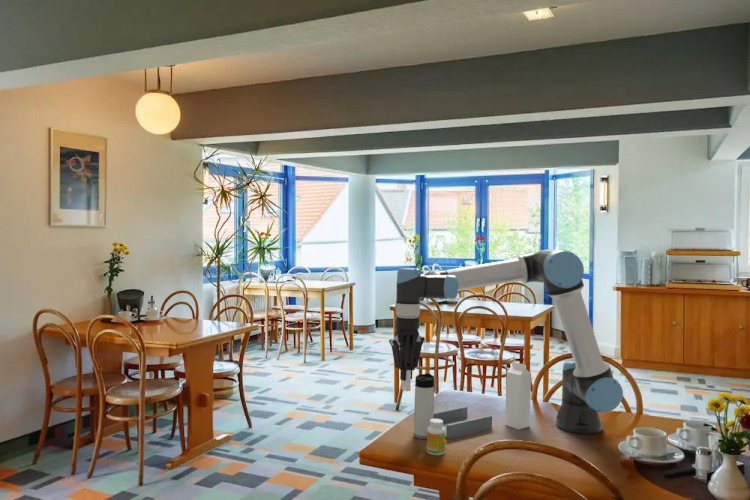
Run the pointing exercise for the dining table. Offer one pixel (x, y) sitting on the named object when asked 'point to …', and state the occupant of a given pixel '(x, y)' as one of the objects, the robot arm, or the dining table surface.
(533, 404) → the dining table surface
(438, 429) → the supplement bottle
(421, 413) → the travel mug
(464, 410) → the cradle
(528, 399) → the milk
